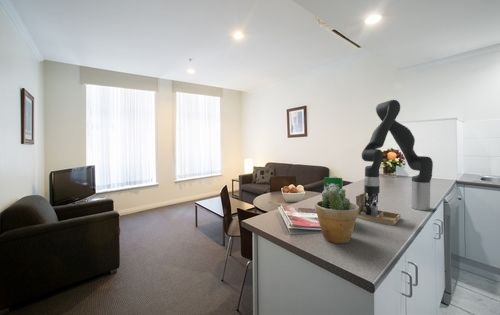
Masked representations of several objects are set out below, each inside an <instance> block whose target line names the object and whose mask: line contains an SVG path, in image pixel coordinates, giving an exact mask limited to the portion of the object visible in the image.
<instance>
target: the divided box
mask: <svg viewBox="0 0 500 315" xmlns="http://www.w3.org/2000/svg"><path fill="white" fill-rule="evenodd" d="M365 196H367V193H365V192H362V193H360V194H358V195H356V196H355V198H356V200H355V201H356V202H355V204H356V205H358V206H359V212H358V217H357V218H356V219H361V220H365V221H370V222H373V223H380V224H384V225H389V226H392V227H394V226H395V225H396V224H397V222H399V221H400V220H401V214H400V213H396V212H390V211H383V210H380V209H378V215H377V216H376V217H373V216H368V215H363V214H360V212H365V209H366V207H365ZM365 213H366V212H365Z"/></svg>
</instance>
